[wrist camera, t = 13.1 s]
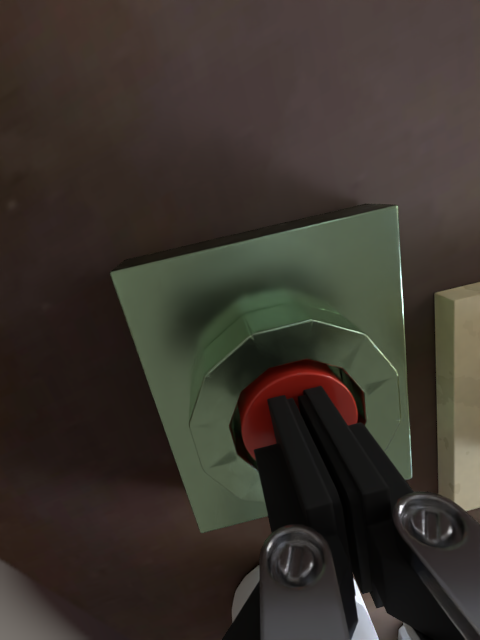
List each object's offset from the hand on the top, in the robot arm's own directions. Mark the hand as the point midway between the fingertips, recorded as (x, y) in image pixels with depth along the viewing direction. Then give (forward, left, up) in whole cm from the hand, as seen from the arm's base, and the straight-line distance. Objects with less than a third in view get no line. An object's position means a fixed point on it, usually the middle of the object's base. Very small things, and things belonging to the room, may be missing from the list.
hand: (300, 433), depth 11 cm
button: (0, 0, -2) cm, 2 cm away
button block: (0, 0, -4) cm, 4 cm away
